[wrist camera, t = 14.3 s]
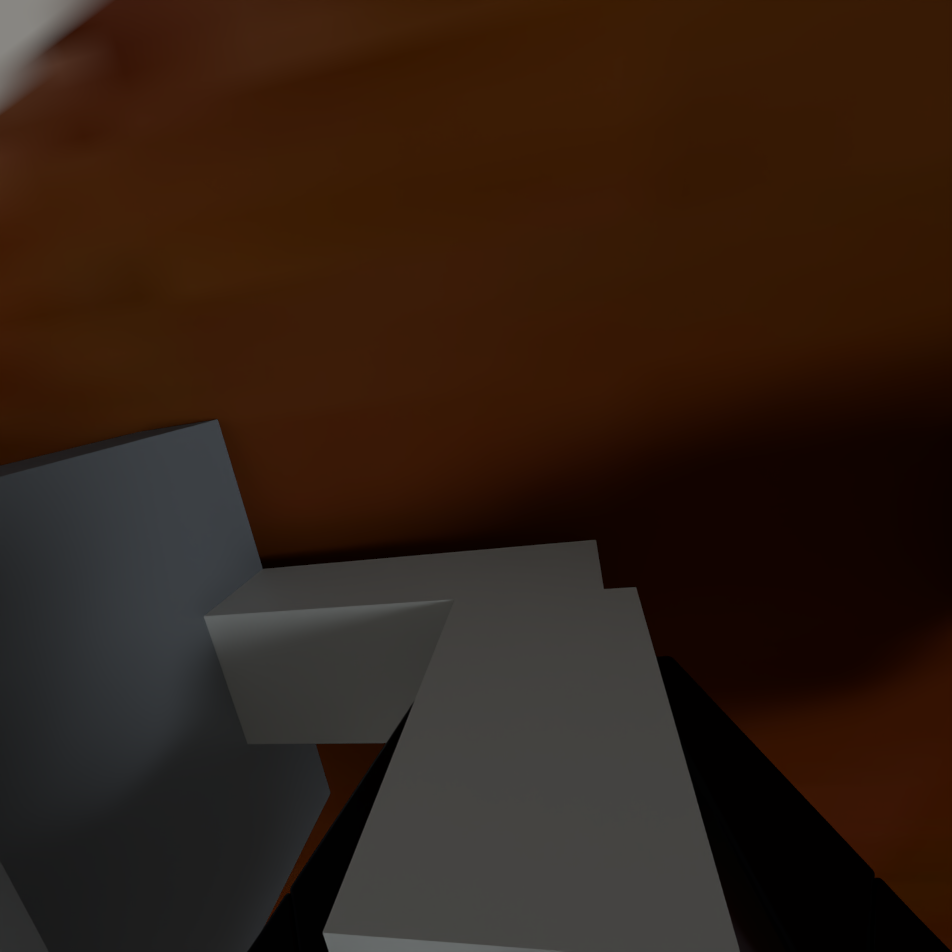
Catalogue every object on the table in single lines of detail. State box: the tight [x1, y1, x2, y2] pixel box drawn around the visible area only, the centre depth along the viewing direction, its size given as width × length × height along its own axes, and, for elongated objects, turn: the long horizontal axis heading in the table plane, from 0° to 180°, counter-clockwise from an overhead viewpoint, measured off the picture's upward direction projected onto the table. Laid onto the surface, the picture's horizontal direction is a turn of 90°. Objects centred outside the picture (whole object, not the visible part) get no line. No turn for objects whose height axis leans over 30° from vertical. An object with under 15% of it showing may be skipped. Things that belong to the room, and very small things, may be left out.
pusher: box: [0, 419, 740, 952], centre depth 8 cm, size 10×10×7 cm
